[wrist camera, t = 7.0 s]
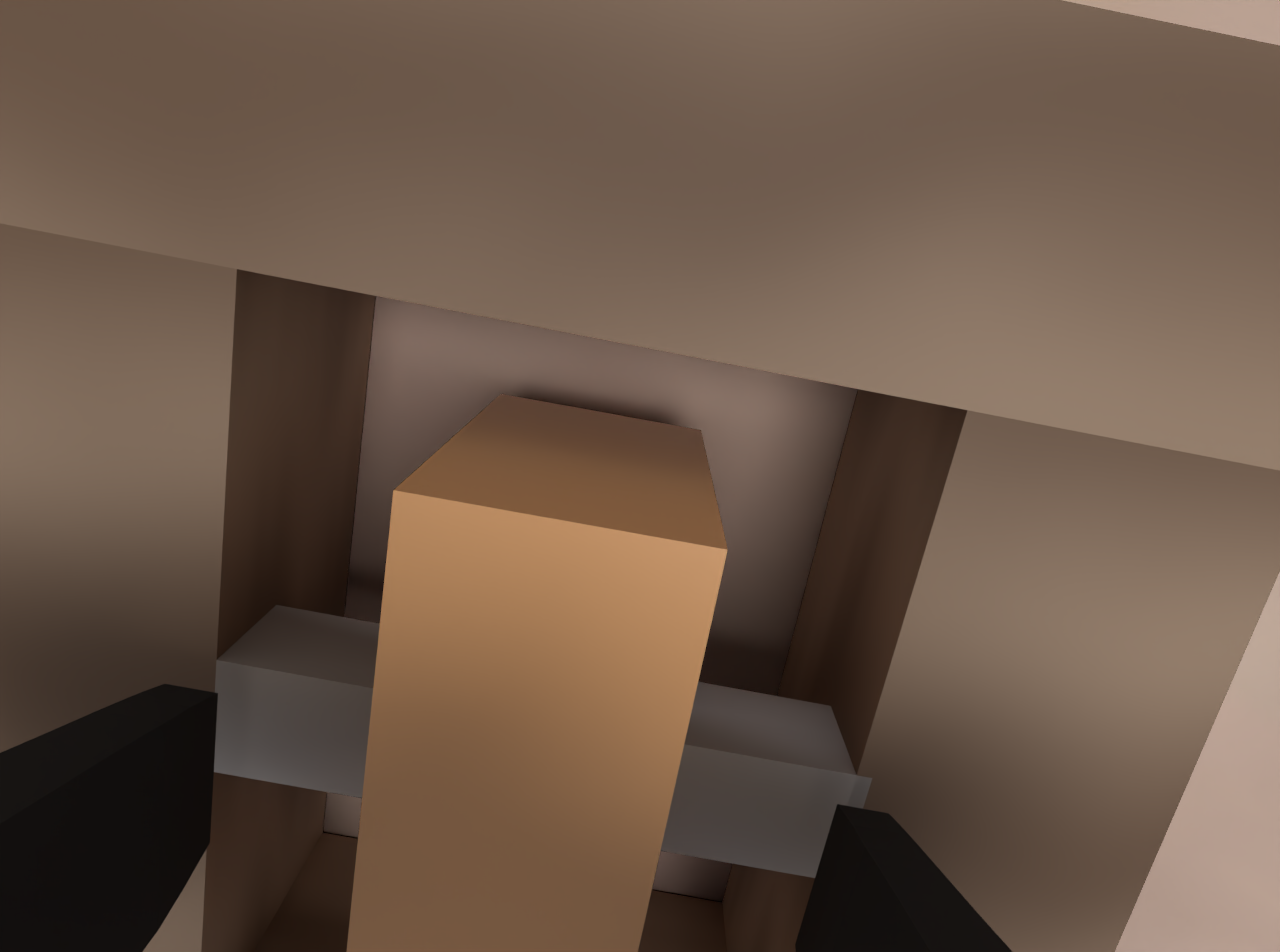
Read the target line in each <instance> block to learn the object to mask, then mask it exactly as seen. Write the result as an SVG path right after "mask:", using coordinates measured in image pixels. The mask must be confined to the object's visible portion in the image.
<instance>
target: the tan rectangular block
mask: <svg viewBox="0 0 1280 952" xmlns="http://www.w3.org/2000/svg"><path fill="white" fill-rule="evenodd" d="M727 551H728V549H727V544H726V540H725V536H724V531H723V527H722V522H721V518H720V513H719V509H718V504H717V500H716V496H715V491H714V487H713V482H712V478H711V473H710V469H709V464H708V460H707V455H706V451H705V447H704V442H703V438H702V433H701V430H697V429H692V428H686V427H681V426H675V425H670V424H664V423H659V422H653V421H648V420H642V419H637V418H631V417H626V416H620V415H615V414H609V413H604V412H598V411H593V410H587V409H582V408H576V407H571V406H565V405H560V404H554V403H549V402H543V401H538V400H532V399H527V398H521V397H516V396H510V395H505V394H500V395H499V396H498V397H497V398H496V399H495V400H494V401H492V402H491V403H490V404H489V405H488V406H487V407H486V408H485V409H483V410H482V411H481V412H480V413H479V414H478V415H477V416H476V417H475V418H473V419H472V420H471V421H470V422H469V423H468V424H467V425H466V426H465V427H463V428H462V429H461V430H460V431H459V432H458V433H457V434H456V435H454V436H453V437H452V438H451V439H450V440H449V441H448V442H447V443H446V444H444V445H443V446H442V447H441V448H440V449H439V450H438V451H437V452H435V453H434V454H433V455H432V456H431V457H430V458H429V459H428V460H427V461H425V462H424V463H423V464H422V465H421V466H420V467H419V468H418V469H416V470H415V471H414V472H413V473H412V474H411V475H410V476H409V477H408V478H406V479H405V480H404V481H403V482H402V483H401V484H400V485H399V486H398V487H396V488H395V489H394V490H393V499H392V509H391V519H390V529H389V538H388V548H387V558H386V568H385V578H384V588H383V597H382V607H381V617H380V627H379V637H378V647H377V656H376V666H375V676H374V686H373V696H372V706H371V715H370V725H369V735H368V745H367V755H366V765H365V774H364V784H363V794H362V804H361V814H360V823H359V833H358V843H357V853H356V863H355V873H354V882H353V892H352V902H351V912H350V922H349V932H348V941H347V951H346V952H638V949H639V945H640V940H641V936H642V931H643V927H644V922H645V918H646V913H647V909H648V904H649V900H650V895H651V891H652V886H653V882H654V878H655V873H656V869H657V864H658V860H659V855H660V851H661V846H662V842H663V837H664V833H665V828H666V824H667V819H668V815H669V810H670V806H671V801H672V797H673V792H674V788H675V784H676V779H677V775H678V770H679V766H680V761H681V757H682V752H683V748H684V743H685V739H686V734H687V730H688V725H689V721H690V716H691V712H692V707H693V703H694V698H695V694H696V690H697V685H698V681H699V676H700V672H701V667H702V663H703V658H704V654H705V649H706V645H707V640H708V636H709V631H710V627H711V622H712V618H713V613H714V609H715V604H716V600H717V596H718V591H719V587H720V582H721V578H722V573H723V569H724V564H725V560H726V555H727Z"/></svg>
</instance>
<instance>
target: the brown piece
mask: <svg viewBox="0 0 1280 952" xmlns="http://www.w3.org/2000/svg"><path fill="white" fill-rule="evenodd" d="M375 296H379V297H384V298H389V299H394V300H400V301H405V302H410V303H415V304H420V305H425V306H431V307H436V308H441V309H446V310H451V311H457V312H462V313H467V314H472V315H477V316H482V317H488V318H493V319H498V320H503V321H508V322H513V323H519V324H524V325H529V326H534V327H539V328H545V329H550V330H555V331H560V332H565V333H570V334H576V335H581V336H586V337H591V338H596V339H601V340H607V341H612V342H617V343H622V344H627V345H633V346H638V347H643V348H648V349H653V350H658V351H664V352H669V353H674V354H679V355H684V356H689V357H695V358H700V359H705V360H710V361H715V362H721V363H726V364H731V365H736V366H741V367H746V368H752V369H757V370H762V371H767V372H772V373H777V374H783V375H788V376H793V377H798V378H803V379H809V380H814V381H819V382H824V383H829V384H834V385H840V386H845V387H850V388H855V389H858V392H857V396H856V400H855V403H854V407H853V411H852V415H851V418H850V422H849V426H848V430H847V434H846V437H845V441H844V445H843V449H842V452H841V456H840V460H839V464H838V468H837V471H836V475H835V479H834V483H833V486H832V490H831V494H830V498H829V502H828V505H827V509H826V513H825V517H824V521H823V524H822V528H821V532H820V536H819V539H818V543H817V547H816V551H815V555H814V558H813V562H812V566H811V570H810V573H809V577H808V581H807V585H806V589H805V592H804V596H803V600H802V604H801V607H800V611H799V615H798V619H797V623H796V626H795V630H794V634H793V638H792V641H791V645H790V649H789V653H788V657H787V660H786V664H785V668H784V672H783V675H782V679H781V683H780V687H779V691H778V694H777V696H773V695H768V694H762V693H757V692H752V691H746V690H741V689H735V688H730V687H724V686H719V685H713V684H708V683H702V682H698V685H697V690H696V694H695V698H694V703H693V707H692V712H691V716H690V721H689V725H688V730H687V734H686V739H685V743H684V748H683V752H682V757H681V761H680V766H679V770H678V775H677V779H676V784H675V788H674V792H673V797H672V801H671V806H670V810H669V815H668V819H667V824H666V828H665V833H664V837H663V842H662V846H661V851H664V852H670V853H676V854H681V855H687V856H693V857H698V858H704V859H710V860H715V861H721V862H727V863H732V868H731V872H730V876H729V879H728V883H727V887H726V891H725V895H724V898H723V902H722V903H721V902H715V901H709V900H704V899H698V898H692V897H687V896H681V895H675V894H669V893H664V892H658V891H651V895H650V900H649V904H648V909H647V913H646V918H645V922H644V927H643V931H642V936H641V940H640V945H639V949H638V952H796V949H795V943H796V940H797V937H798V933H799V930H800V927H801V923H802V920H803V917H804V913H805V910H806V907H807V903H808V900H809V896H810V893H811V890H812V886H813V883H814V880H815V876H816V873H817V870H818V866H819V863H820V860H821V856H822V853H823V850H824V846H825V843H826V840H827V836H828V833H829V830H830V826H831V823H832V820H833V816H834V813H835V810H836V806H837V804H840V805H845V806H851V807H857V808H862V809H868V810H873V811H879V812H884V813H889V814H890V815H891V816H892V817H893V818H894V819H895V820H896V821H897V822H898V823H899V824H900V825H901V827H902V828H903V829H904V830H905V831H906V832H907V833H908V834H909V835H910V836H911V838H912V839H913V840H914V841H915V842H916V843H917V844H918V845H919V847H920V848H921V849H922V850H923V851H924V852H925V853H926V854H927V856H928V857H929V858H930V859H931V860H932V861H933V862H934V864H935V865H936V866H937V867H938V868H939V869H940V870H941V872H942V873H943V874H944V875H945V876H946V877H947V878H948V880H949V881H950V882H951V883H952V884H953V885H954V886H955V888H956V889H957V890H958V891H959V892H960V893H961V894H962V896H963V897H964V898H965V899H966V900H967V901H968V902H969V904H970V905H971V906H972V907H973V908H974V909H975V910H976V911H977V913H978V914H979V915H980V916H981V917H982V918H983V919H984V921H985V922H986V923H987V924H988V925H989V926H990V927H991V928H992V930H993V931H994V932H995V933H996V934H997V935H998V936H999V937H1000V938H1001V939H1002V941H1003V942H1004V943H1005V944H1006V945H1007V946H1008V947H1009V948H1010V949H1011V951H1012V952H1115V949H1116V947H1117V945H1118V943H1119V940H1120V938H1121V936H1122V933H1123V931H1124V929H1125V926H1126V924H1127V922H1128V919H1129V917H1130V915H1131V913H1132V910H1133V908H1134V906H1135V903H1136V901H1137V899H1138V896H1139V894H1140V892H1141V890H1142V887H1143V885H1144V883H1145V880H1146V878H1147V876H1148V873H1149V871H1150V869H1151V866H1152V864H1153V862H1154V860H1155V857H1156V855H1157V853H1158V850H1159V848H1160V846H1161V843H1162V841H1163V839H1164V837H1165V834H1166V832H1167V830H1168V827H1169V825H1170V823H1171V820H1172V818H1173V816H1174V813H1175V811H1176V809H1177V807H1178V804H1179V802H1180V800H1181V797H1182V795H1183V793H1184V790H1185V788H1186V786H1187V784H1188V781H1189V779H1190V777H1191V774H1192V772H1193V770H1194V767H1195V765H1196V763H1197V760H1198V758H1199V756H1200V754H1201V751H1202V749H1203V747H1204V744H1205V742H1206V740H1207V737H1208V735H1209V733H1210V731H1211V728H1212V726H1213V724H1214V721H1215V719H1216V717H1217V714H1218V712H1219V710H1220V707H1221V705H1222V703H1223V701H1224V698H1225V696H1226V694H1227V691H1228V689H1229V687H1230V684H1231V682H1232V680H1233V678H1234V675H1235V673H1236V671H1237V668H1238V666H1239V664H1240V661H1241V659H1242V657H1243V654H1244V652H1245V650H1246V648H1247V645H1248V643H1249V641H1250V638H1251V636H1252V634H1253V631H1254V629H1255V627H1256V625H1257V622H1258V620H1259V618H1260V615H1261V613H1262V611H1263V608H1264V606H1265V604H1266V601H1267V599H1268V597H1269V595H1270V592H1271V590H1272V588H1273V585H1274V583H1275V581H1276V578H1277V576H1278V574H1279V572H1280V46H1279V45H1274V44H1269V43H1264V42H1259V41H1255V40H1250V39H1245V38H1240V37H1235V36H1230V35H1226V34H1221V33H1216V32H1211V31H1206V30H1202V29H1197V28H1192V27H1187V26H1182V25H1178V24H1173V23H1168V22H1163V21H1158V20H1153V19H1149V18H1144V17H1139V16H1134V15H1129V14H1125V13H1120V12H1115V11H1110V10H1105V9H1100V8H1096V7H1091V6H1086V5H1081V4H1076V3H1072V2H1067V1H1062V0H0V753H1V752H3V751H6V750H8V749H10V748H13V747H15V746H17V745H20V744H22V743H24V742H27V741H29V740H31V739H33V738H36V737H38V736H40V735H43V734H45V733H47V732H50V731H52V730H54V729H56V728H59V727H61V726H63V725H66V724H68V723H70V722H72V721H75V720H77V719H79V718H82V717H84V716H86V715H88V714H91V713H93V712H95V711H98V710H100V709H102V708H105V707H107V706H109V705H112V704H114V703H116V702H119V701H121V700H124V699H126V698H128V697H131V696H133V695H136V694H138V693H141V692H143V691H146V690H149V689H151V688H154V687H157V686H160V685H162V684H170V685H175V686H181V687H187V688H192V689H198V690H203V691H209V692H214V693H218V702H217V721H216V740H215V759H214V777H213V796H212V815H211V833H210V844H209V845H208V847H207V849H206V851H205V852H204V854H203V856H202V857H201V859H200V861H199V863H198V864H197V866H196V868H195V870H194V871H193V873H192V875H191V877H190V878H189V880H188V882H187V884H186V885H185V887H184V889H183V891H182V892H181V894H180V895H179V897H178V899H177V900H176V902H175V904H174V905H173V907H172V909H171V910H170V912H169V913H168V915H167V917H166V918H165V920H164V922H163V923H162V925H161V927H160V928H159V930H158V931H157V933H156V934H155V935H154V937H153V938H152V940H151V941H150V942H149V944H148V945H147V946H146V948H145V949H144V950H143V952H346V951H347V941H348V932H349V922H350V912H351V902H352V892H353V882H354V873H355V863H356V853H357V843H358V839H355V838H350V837H344V836H338V835H332V834H327V833H323V825H324V814H325V804H326V794H327V792H330V793H336V794H341V795H347V796H353V797H358V798H362V794H363V784H364V774H365V765H366V755H367V745H368V735H369V725H370V715H371V706H372V696H373V686H374V676H375V666H376V656H377V647H378V637H379V627H380V624H379V623H373V622H368V621H362V620H357V619H351V618H346V617H344V611H345V600H346V590H347V580H348V570H349V560H350V549H351V539H352V529H353V519H354V509H355V499H356V488H357V478H358V468H359V458H360V448H361V437H362V427H363V417H364V407H365V397H366V386H367V376H368V366H369V356H370V346H371V335H372V325H373V315H374V305H375Z"/></svg>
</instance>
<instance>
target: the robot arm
mask: <svg viewBox="0 0 1280 952" xmlns="http://www.w3.org/2000/svg"><path fill="white" fill-rule="evenodd" d="M217 702H218V693H214V692H209V691H203V690H198V689H192V688H187V687H181V686H175V685H170V684H162V685H160V686H157V687H154V688H151V689H149V690H146V691H143V692H141V693H138V694H136V695H133V696H131V697H128V698H126V699H124V700H121V701H119V702H116V703H114V704H112V705H109V706H107V707H105V708H102V709H100V710H98V711H95V712H93V713H91V714H88V715H86V716H84V717H82V718H79V719H77V720H75V721H72V722H70V723H68V724H66V725H63V726H61V727H59V728H56V729H54V730H52V731H50V732H47V733H45V734H43V735H40V736H38V737H36V738H33V739H31V740H29V741H27V742H24V743H22V744H20V745H17V746H15V747H13V748H10V749H8V750H6V751H3V752H1V753H0V952H143V950H144V949H145V948H146V946H147V945H148V944H149V942H150V941H151V940H152V938H153V937H154V935H155V934H156V933H157V931H158V930H159V928H160V927H161V925H162V923H163V922H164V920H165V918H166V917H167V915H168V913H169V912H170V910H171V909H172V907H173V905H174V904H175V902H176V900H177V899H178V897H179V895H180V894H181V892H182V891H183V889H184V887H185V885H186V884H187V882H188V880H189V878H190V877H191V875H192V873H193V871H194V870H195V868H196V866H197V864H198V863H199V861H200V859H201V857H202V856H203V854H204V852H205V851H206V849H207V847H208V845H209V844H210V833H211V815H212V796H213V777H214V759H215V740H216V721H217ZM795 949H796V952H1012V951H1011V949H1010V948H1009V947H1008V946H1007V945H1006V944H1005V943H1004V942H1003V941H1002V939H1001V938H1000V937H999V936H998V935H997V934H996V933H995V932H994V931H993V930H992V928H991V927H990V926H989V925H988V924H987V923H986V922H985V921H984V919H983V918H982V917H981V916H980V915H979V914H978V913H977V911H976V910H975V909H974V908H973V907H972V906H971V905H970V904H969V902H968V901H967V900H966V899H965V898H964V897H963V896H962V894H961V893H960V892H959V891H958V890H957V889H956V888H955V886H954V885H953V884H952V883H951V882H950V881H949V880H948V878H947V877H946V876H945V875H944V874H943V873H942V872H941V870H940V869H939V868H938V867H937V866H936V865H935V864H934V862H933V861H932V860H931V859H930V858H929V857H928V856H927V854H926V853H925V852H924V851H923V850H922V849H921V848H920V847H919V845H918V844H917V843H916V842H915V841H914V840H913V839H912V838H911V836H910V835H909V834H908V833H907V832H906V831H905V830H904V829H903V828H902V827H901V825H900V824H899V823H898V822H897V821H896V820H895V819H894V818H893V817H892V816H891V815H890V814H889V813H884V812H879V811H873V810H868V809H862V808H857V807H851V806H845V805H840V804H837V806H836V810H835V813H834V816H833V820H832V823H831V826H830V830H829V833H828V836H827V840H826V843H825V846H824V850H823V853H822V856H821V860H820V863H819V866H818V870H817V873H816V876H815V880H814V883H813V886H812V890H811V893H810V896H809V900H808V903H807V907H806V910H805V913H804V917H803V920H802V923H801V927H800V930H799V933H798V937H797V940H796V943H795Z"/></svg>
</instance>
